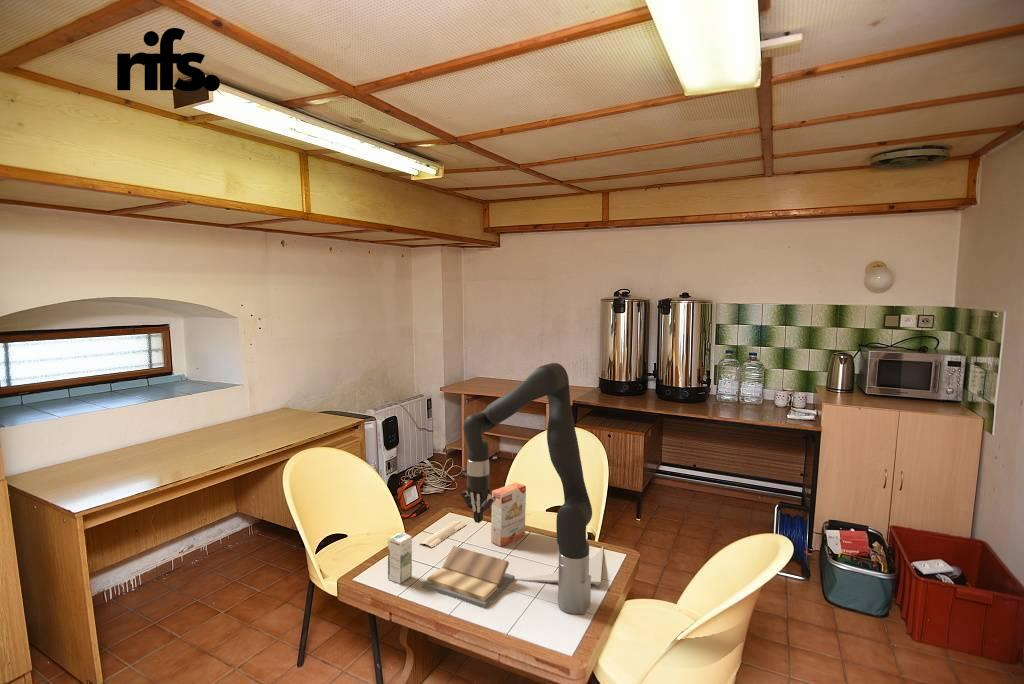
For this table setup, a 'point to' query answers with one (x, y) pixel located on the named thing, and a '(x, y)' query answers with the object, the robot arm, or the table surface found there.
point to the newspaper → (443, 533)
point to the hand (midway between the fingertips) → (478, 521)
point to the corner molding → (594, 571)
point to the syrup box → (399, 557)
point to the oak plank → (462, 583)
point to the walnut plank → (476, 565)
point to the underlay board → (504, 583)
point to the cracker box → (508, 514)
